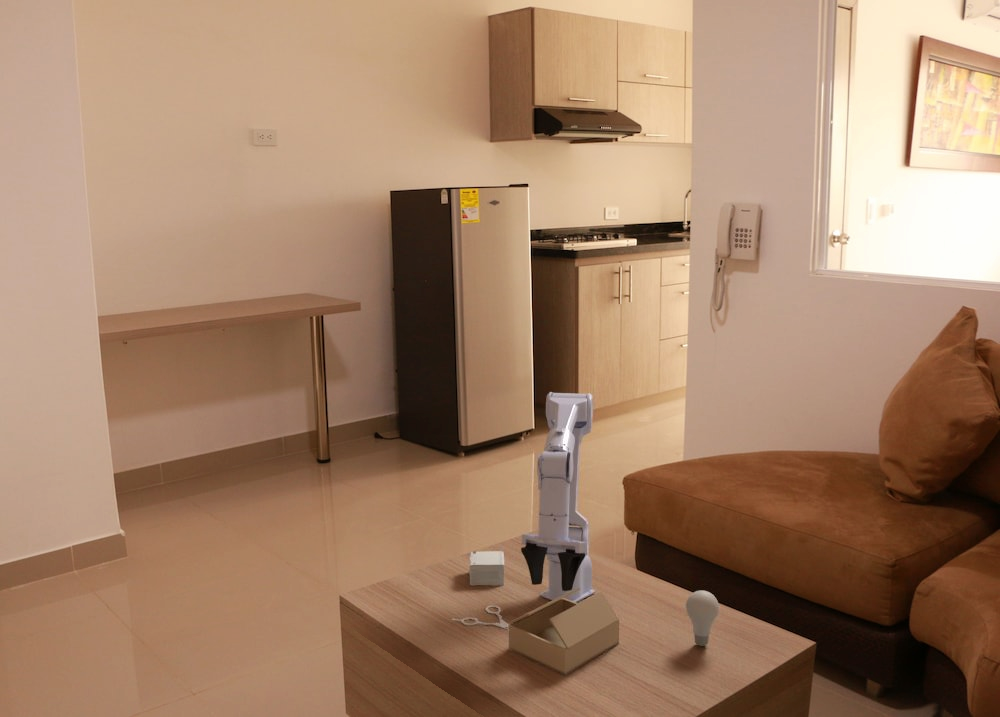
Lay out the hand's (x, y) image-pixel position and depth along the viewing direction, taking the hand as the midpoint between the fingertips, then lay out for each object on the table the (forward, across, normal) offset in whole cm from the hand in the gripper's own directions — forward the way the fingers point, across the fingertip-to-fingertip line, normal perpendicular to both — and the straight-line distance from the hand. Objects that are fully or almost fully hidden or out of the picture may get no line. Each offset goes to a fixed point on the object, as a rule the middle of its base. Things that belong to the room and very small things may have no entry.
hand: (551, 587), depth 170 cm
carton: (+12, 0, +4) cm, 12 cm away
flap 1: (+4, -4, +3) cm, 6 cm away
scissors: (+11, -14, +2) cm, 18 cm away
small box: (+5, -32, +15) cm, 36 cm away
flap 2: (+5, +6, +3) cm, 8 cm away
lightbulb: (+11, +19, +22) cm, 31 cm away
